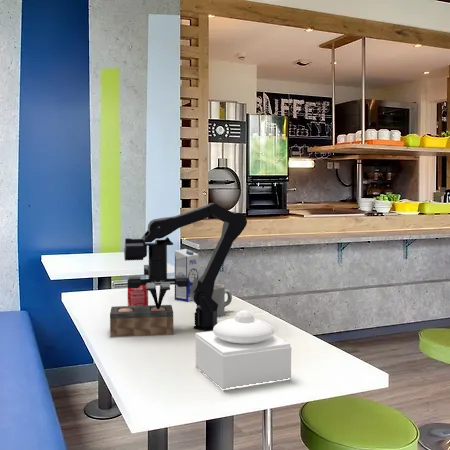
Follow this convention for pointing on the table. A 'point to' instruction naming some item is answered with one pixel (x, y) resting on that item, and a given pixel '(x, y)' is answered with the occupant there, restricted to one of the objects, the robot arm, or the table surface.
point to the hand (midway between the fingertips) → (158, 308)
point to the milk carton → (185, 272)
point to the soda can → (138, 296)
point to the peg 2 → (157, 309)
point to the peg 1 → (125, 310)
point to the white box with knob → (242, 352)
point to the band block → (141, 321)
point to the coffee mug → (221, 298)
